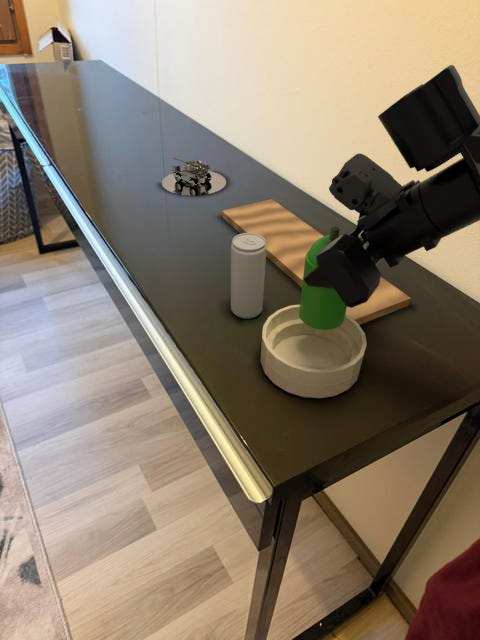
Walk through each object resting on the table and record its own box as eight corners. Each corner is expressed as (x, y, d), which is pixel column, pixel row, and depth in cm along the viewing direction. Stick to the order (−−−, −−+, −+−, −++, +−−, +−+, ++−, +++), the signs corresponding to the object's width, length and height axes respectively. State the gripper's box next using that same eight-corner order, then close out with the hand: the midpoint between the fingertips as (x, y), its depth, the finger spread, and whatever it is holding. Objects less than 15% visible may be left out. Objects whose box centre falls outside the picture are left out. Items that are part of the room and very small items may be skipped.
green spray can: (350, 309, 59) (368, 223, 52) (336, 335, 55) (353, 246, 48) (308, 297, 61) (319, 212, 54) (291, 321, 57) (301, 233, 50)
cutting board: (408, 305, 71) (411, 298, 70) (348, 329, 66) (350, 321, 65) (271, 205, 98) (271, 198, 97) (221, 217, 93) (221, 210, 92)
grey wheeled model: (193, 165, 115) (192, 143, 111) (239, 180, 108) (239, 158, 104) (148, 183, 106) (145, 159, 102) (195, 201, 99) (194, 177, 95)
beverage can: (241, 297, 72) (242, 229, 64) (268, 307, 70) (272, 238, 62) (224, 313, 69) (224, 243, 61) (252, 324, 67) (255, 253, 59)
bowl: (367, 346, 63) (375, 318, 60) (346, 414, 54) (353, 385, 51) (279, 322, 67) (282, 294, 64) (245, 381, 58) (246, 352, 55)
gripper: (420, 112, 48) (313, 188, 60) (353, 165, 36) (236, 248, 48) (473, 200, 50) (360, 257, 62) (426, 279, 38) (296, 332, 49)
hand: (317, 270), depth 55 cm, fingers closed on green spray can, 6 cm apart
